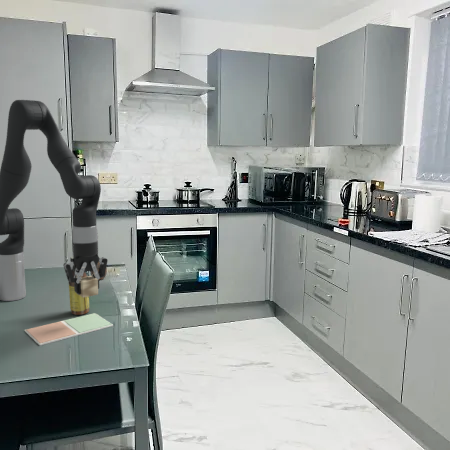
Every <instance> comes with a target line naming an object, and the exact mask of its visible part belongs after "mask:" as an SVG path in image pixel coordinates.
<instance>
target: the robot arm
mask: <svg viewBox="0 0 450 450" xmlns="http://www.w3.org/2000/svg"><path fill="white" fill-rule="evenodd" d="M6 128H7V129H6V130H7V132H6V139H5V145H4V146H5V147H4V151H3V156H2V161H1V164H0V236H5V235H6V236H7V235H8V236H7V237H6V238H5V239H4V240H3V241H1V242H0V301H3V302H4V301H5V302H12V301H18V300H22V299H24V298H26V296H27V291H26V274H25V273H26V271H25V270H26V269H25V256H24V253H25V252H24V247H25V217H24V215H23V213H22V211H21V210H20V208H16V207H15V208H14V207H13V208H9V207H10V206H11V203H12V202H13V201H14V200H15V199H16V198H17V197H18V196H19V195H20V194H21V193H22V192H23V190H25V188H26V187H27V186H28V183H29V180H30V176H31V172H32V167H33V166H32V162H31V159H30V156H29V154H28V152H27V151H26V148H25V145H24V143H25V135H26V131H30V130H31V131H32V130H33V131H34V130H39V131H40V132H42V134H43V135H44V136H45V137H46V140H47V141H46V142H47V143H46V152H47V153H46V154H47V157H48V158H49V161H50V163H51V164H52V165H53V167H54V168H55V170H56V171H57V172H58V174H59V176H60V180H61V182H62V186H63V189H64V191H65V192H66V193H65V194H67V195H68V197H70V198H71V199H74V200H81V199H82V200H81V202H80V204H79V205H77V206H75V207H74V208H73V209H72V212H71V213H72V214H71V215H72V234H71V235H72V236H71V237H72V238H71V239H72V256H73V260H72V262H71V261H69V262H67V263H66V262H65V263H64V262H63V269H64V273H65V276H66V279H67V281H68V282H69V281H70V282H72V283H73V282H74V291H75V292H76V293H77V294H78V295H80V294H81V283H80V281H81V277H82V276H83V273H84V272H85V273H86V272H91V273H90V275H91V274H92V276H93V277H94V278H96V279H98V290H99V289H100V280H99V279H100V278H101V277H104V276H105V272H106V267H108V266H107V265H108V259H107V258H106V257H104V256H103V257H99V235H98V228H97V227H98V226H97V210H98V207H99V202H100V197H101V191H102V188H101V183H100V180H99V179H98V177H96V176H94V175H91V174H90V175H88V174H87V175H85V174H84V175H78V174H79V173H80V172H81V170H82V164H81V162H80V161H79V159H78V158H77V156H76V155H75V154H74V153H73V151H72V150H71V149H70V147H69V146H68V144H67V142H66V141H65V139H64V137H63V135H62V133H61V132H60V129H59V126H58V125H57V123H56V120H55V118H54V117H53V114H52V113H51V111H50V109H49V107H47V105H46V104H45V103H44V102H42V101H40V100H31V99H29V100H28V99H16V100H13V101H12V103H11V104H10V107H9V111H8V118H7V127H6ZM98 262H99V264H100V266H99V271H97V268H96V265H97V263H98ZM73 265H74V266H75V267H76V270H75V276H74V277H73V273H72V269H73ZM105 277H106V276H105Z"/></svg>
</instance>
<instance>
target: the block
mask: <svg viewBox="0 0 450 450" xmlns="http://www.w3.org/2000/svg"><path fill="white" fill-rule="evenodd" d="M80 283H81V294H80V296H81V297H83V298H84V297H93V296H97V295H99V289H98V279H96V278H94V277H92V276H91V275H87V277H81V281H80ZM76 294H77V293H76Z"/></svg>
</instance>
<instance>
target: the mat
mask: <svg viewBox="0 0 450 450" xmlns="http://www.w3.org/2000/svg"><path fill="white" fill-rule="evenodd" d="M111 327H114V324H113V323H111V322H110V321H108V320H107V319H105V318H104V317H102V316H101V315H99V314H98V313H95V312H93V313H90V314H84V315H80V316H77V317H73V318H69V319H64V320H61V321H57V322H52V323H47V324H44V325H39V326H34V327H31V328H27V329H24V332H25V333H26V334H27V335H28V336H29V337H30V338H31V339H32V340H33V341H34V342H35V343H36V344H37V345H38V346H43V345H48V344H51V343H55V342H59V341H62V340H65V339H70V338H74V337H77V336H81V335H85V334H88V333H92V332H96V331H99V330H100V331H101V330H103V329H107V328H111Z"/></svg>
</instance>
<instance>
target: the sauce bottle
mask: <svg viewBox="0 0 450 450" xmlns="http://www.w3.org/2000/svg"><path fill="white" fill-rule="evenodd" d="M72 260H73V255H71V257H70V261H69V262H72ZM75 270H76V267H75V266H74V265H73V269H72V273H73V277H74V276H75ZM87 276H88V275H87V273H86V272H84V273H83V276H82V277H87ZM68 293H69V295H68V296H69V308H70V312H71V314H72V315H74V316H83V315H87V314H88V313H89V312H90V298H89V297H90V296H89V297H84V298H83V297H81V296H80V295H78V294H76V292H75V291H74V282H73V283H72V282H70V281H68Z"/></svg>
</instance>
